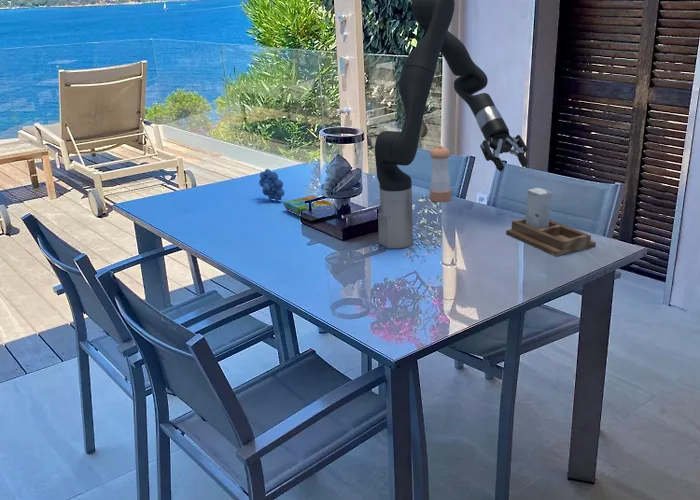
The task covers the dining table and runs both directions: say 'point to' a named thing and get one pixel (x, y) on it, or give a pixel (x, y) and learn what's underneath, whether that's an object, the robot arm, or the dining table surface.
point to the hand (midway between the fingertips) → (513, 167)
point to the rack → (551, 237)
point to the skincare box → (538, 208)
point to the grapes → (271, 185)
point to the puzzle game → (304, 204)
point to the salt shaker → (440, 175)
